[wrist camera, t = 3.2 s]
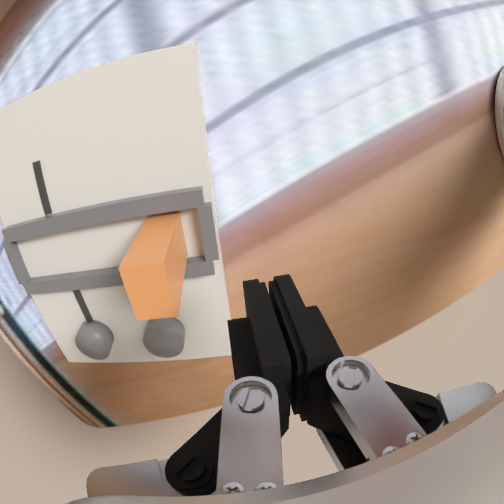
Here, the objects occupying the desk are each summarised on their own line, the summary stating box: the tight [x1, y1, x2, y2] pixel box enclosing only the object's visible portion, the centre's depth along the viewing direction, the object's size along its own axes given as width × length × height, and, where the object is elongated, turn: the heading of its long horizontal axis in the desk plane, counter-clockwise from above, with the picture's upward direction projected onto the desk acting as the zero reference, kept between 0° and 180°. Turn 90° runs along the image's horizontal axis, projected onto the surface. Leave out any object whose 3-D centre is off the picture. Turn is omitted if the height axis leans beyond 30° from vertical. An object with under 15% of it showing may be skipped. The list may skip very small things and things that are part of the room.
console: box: [0, 43, 232, 363], centre depth 17 cm, size 16×22×4 cm
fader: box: [118, 211, 188, 320], centre depth 14 cm, size 2×3×6 cm
